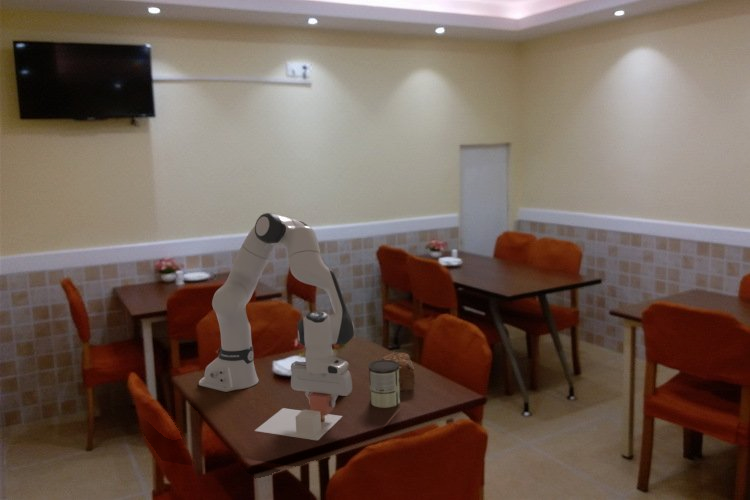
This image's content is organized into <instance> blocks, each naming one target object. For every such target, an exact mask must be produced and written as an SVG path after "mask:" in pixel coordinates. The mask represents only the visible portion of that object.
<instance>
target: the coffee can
mask: <svg viewBox="0 0 750 500" xmlns="http://www.w3.org/2000/svg"><path fill="white" fill-rule="evenodd" d="M368 374H369V375H368V376H369V377H368V379H369V395H370V396H369V398H370V404H371V405H372V406H374V407H377V408H381V409H382V408H383V409H384V408H385V409H386V408H387V409H388V408H393V407H396V406H399V404H401V394H400V393H401V391H400V388H399V363H398V362H396V361H392V360H382V359H379V360H375V361H372V362H371V363H369V364H368Z"/></svg>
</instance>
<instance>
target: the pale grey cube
mask: <svg viewBox="0 0 750 500" xmlns="http://www.w3.org/2000/svg"><path fill="white" fill-rule="evenodd" d="M301 411H302V412H300V413H299V414H298V415H297V416H296V434H297V435H299V436H305V437H312V438H313V437H314V436H315V435H316V434H317V433H318V432H320V431H321V415H320V411H313V410H310V409H306V408H305V409H302V410H301Z"/></svg>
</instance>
